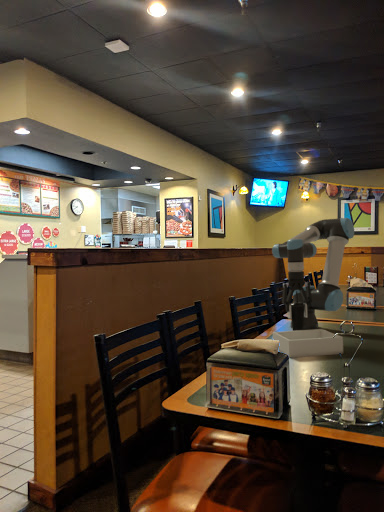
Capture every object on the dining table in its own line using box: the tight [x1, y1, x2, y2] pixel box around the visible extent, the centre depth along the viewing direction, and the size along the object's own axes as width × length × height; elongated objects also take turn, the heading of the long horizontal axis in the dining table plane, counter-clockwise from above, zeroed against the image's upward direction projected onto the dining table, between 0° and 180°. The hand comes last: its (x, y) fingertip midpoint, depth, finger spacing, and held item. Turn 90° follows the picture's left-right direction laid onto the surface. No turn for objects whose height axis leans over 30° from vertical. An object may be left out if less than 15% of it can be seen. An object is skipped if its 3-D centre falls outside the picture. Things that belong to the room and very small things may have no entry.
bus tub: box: [272, 328, 344, 358], centre depth 174 cm, size 24×18×7 cm
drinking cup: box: [289, 291, 305, 331], centre depth 195 cm, size 8×8×20 cm
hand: (297, 317), depth 195 cm, fingers closed on drinking cup, 7 cm apart
